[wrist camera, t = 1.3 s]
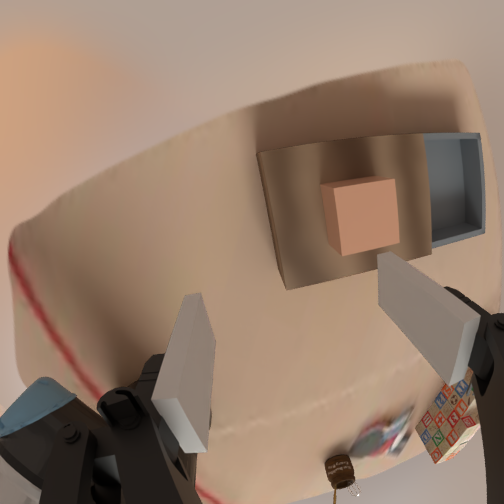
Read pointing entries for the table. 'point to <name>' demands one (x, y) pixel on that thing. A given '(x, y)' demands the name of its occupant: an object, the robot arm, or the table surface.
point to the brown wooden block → (312, 210)
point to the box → (455, 186)
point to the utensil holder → (340, 472)
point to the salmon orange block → (361, 214)
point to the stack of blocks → (450, 421)
